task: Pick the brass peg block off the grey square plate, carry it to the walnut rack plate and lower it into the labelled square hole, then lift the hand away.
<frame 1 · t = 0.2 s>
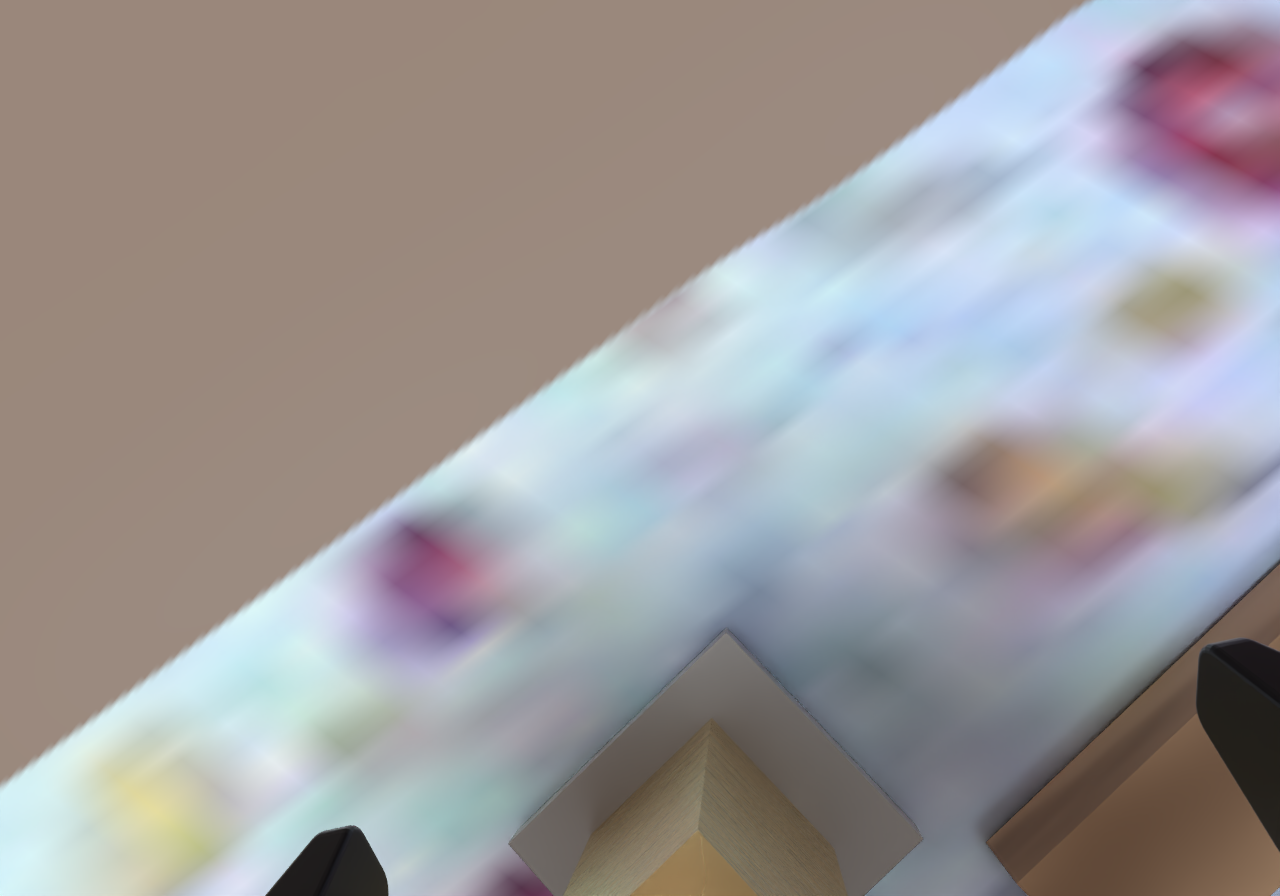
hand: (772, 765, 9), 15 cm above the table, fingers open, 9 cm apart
peg block: (710, 841, 22), point 1 cm above the table, touching grey square plate
grey square plate: (711, 827, 23), on the table
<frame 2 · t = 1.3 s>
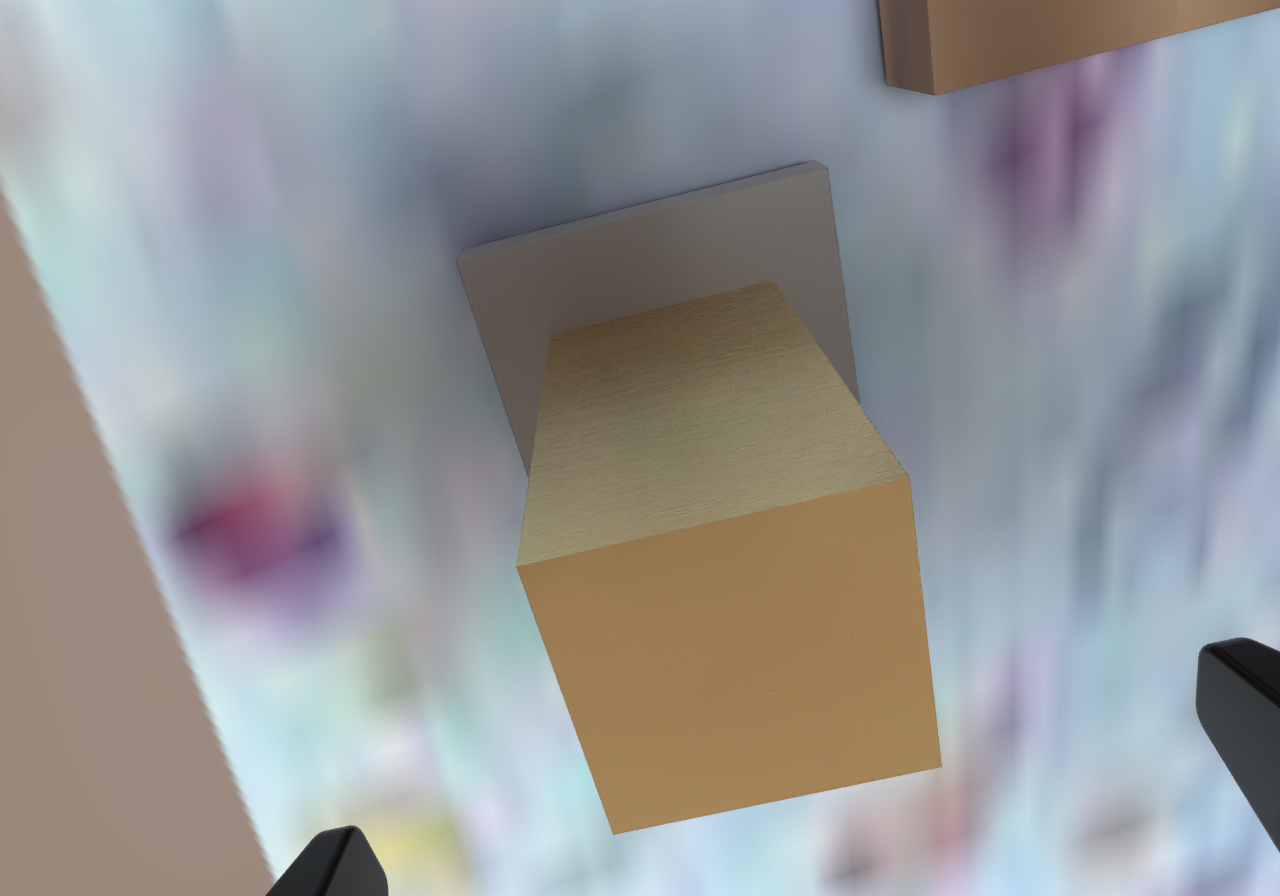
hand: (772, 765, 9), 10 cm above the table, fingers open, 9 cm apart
peg block: (684, 409, 18), point 1 cm above the table, touching grey square plate
grey square plate: (680, 391, 19), on the table
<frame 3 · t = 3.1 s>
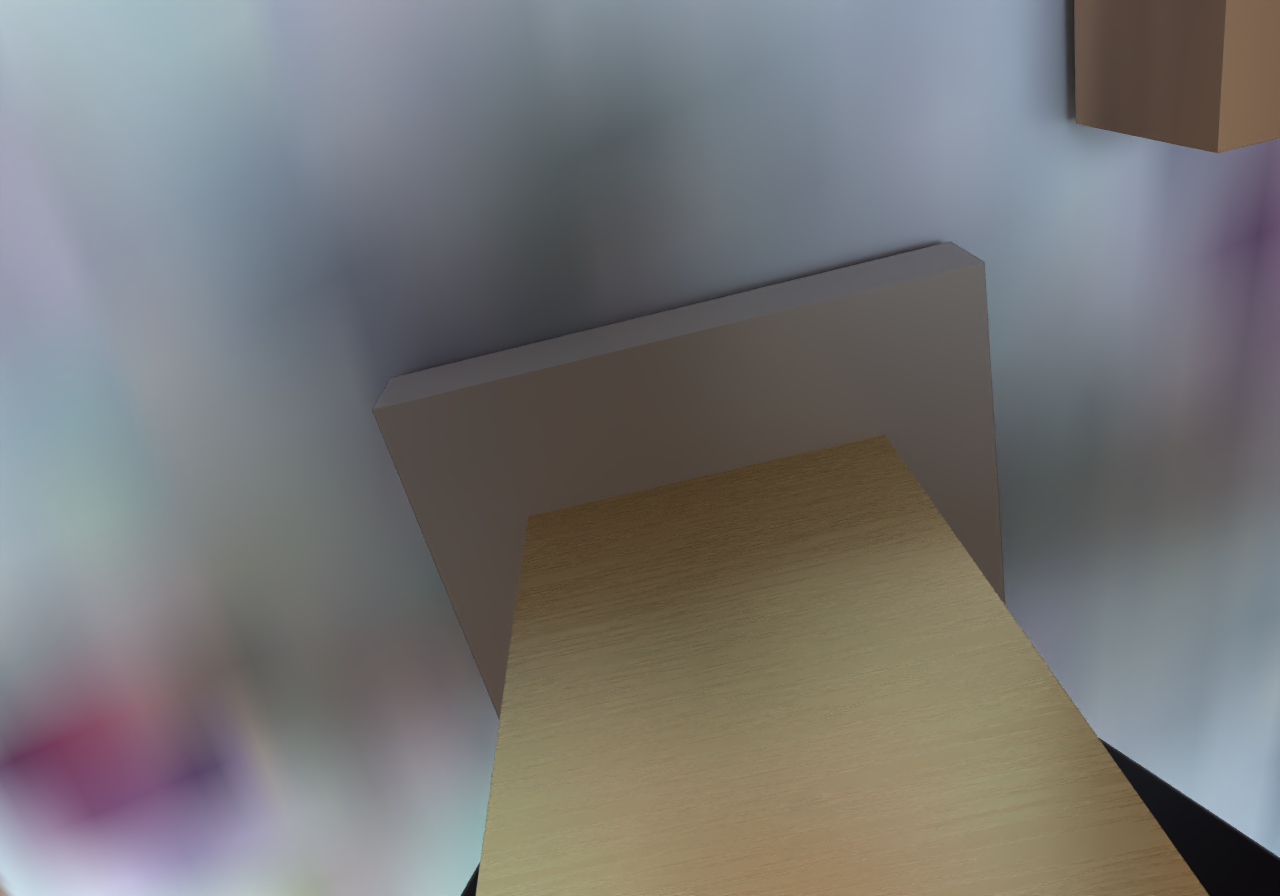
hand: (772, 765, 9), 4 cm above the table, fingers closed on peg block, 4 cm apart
peg block: (737, 619, 11), point 1 cm above the table, touching gripper, grey square plate
grey square plate: (726, 575, 12), on the table
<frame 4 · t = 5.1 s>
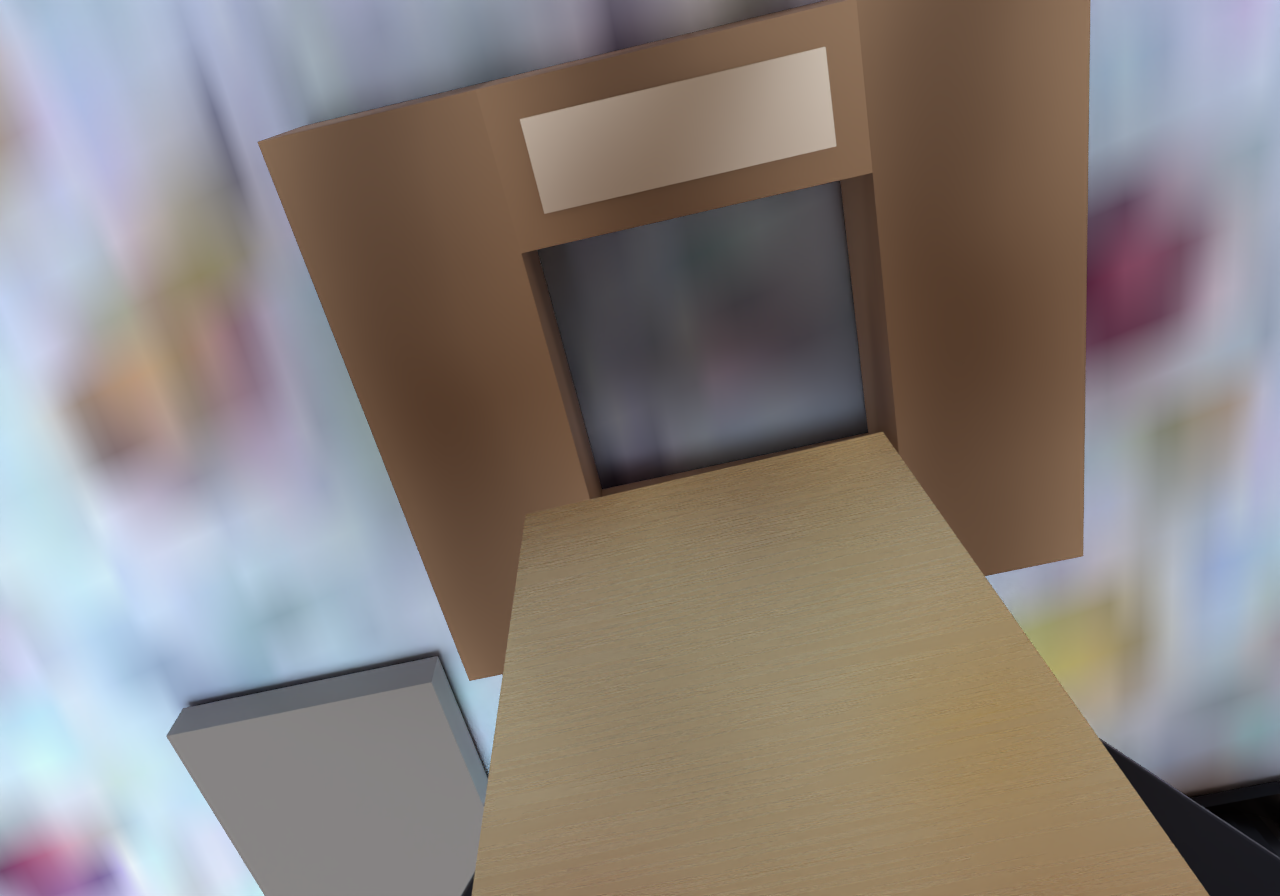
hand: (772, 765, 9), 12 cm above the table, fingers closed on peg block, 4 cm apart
peg block: (735, 617, 11), point 9 cm above the table, touching gripper
grey square plate: (362, 789, 25), on the table
rack plate: (710, 335, 19), on the table
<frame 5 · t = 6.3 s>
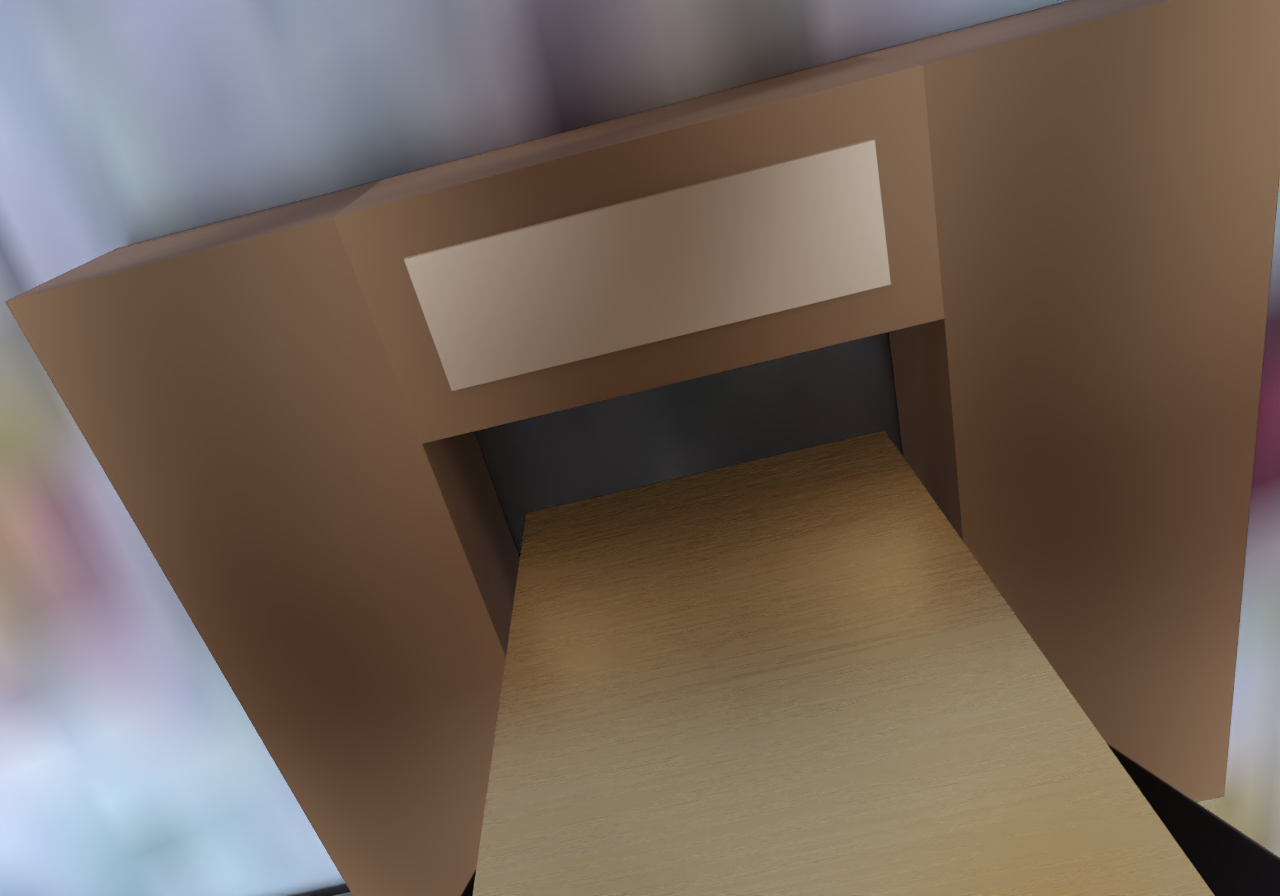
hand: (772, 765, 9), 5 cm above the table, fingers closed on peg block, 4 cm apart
peg block: (736, 616, 11), point 3 cm above the table, touching gripper
rack plate: (706, 503, 14), on the table
when the fingers open (4 cm above the table, at t = 7.3 s): peg block drops 2 cm, resting in rack plate.
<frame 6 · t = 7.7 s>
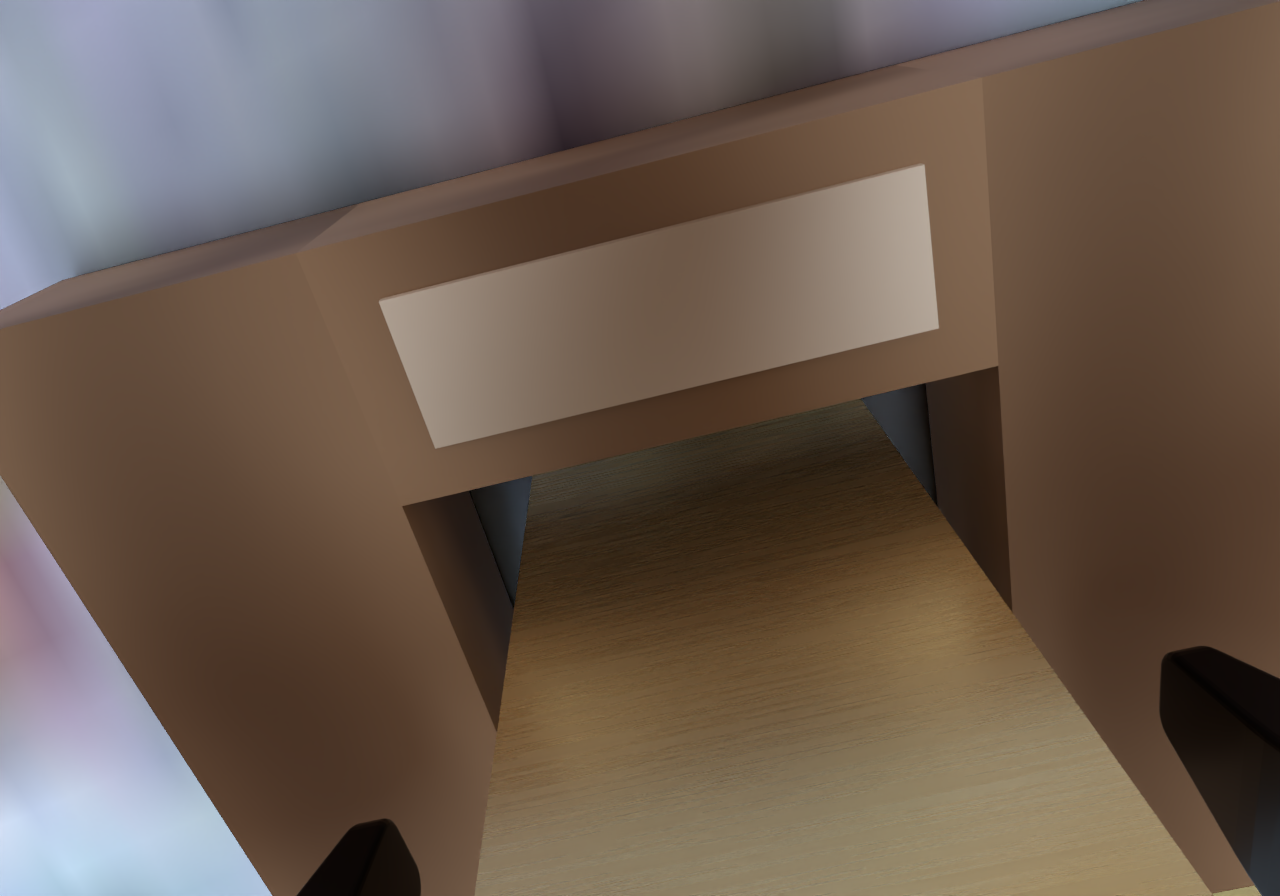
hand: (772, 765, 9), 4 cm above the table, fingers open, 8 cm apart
peg block: (722, 553, 13), resting in rack plate
rack plate: (721, 555, 13), on the table
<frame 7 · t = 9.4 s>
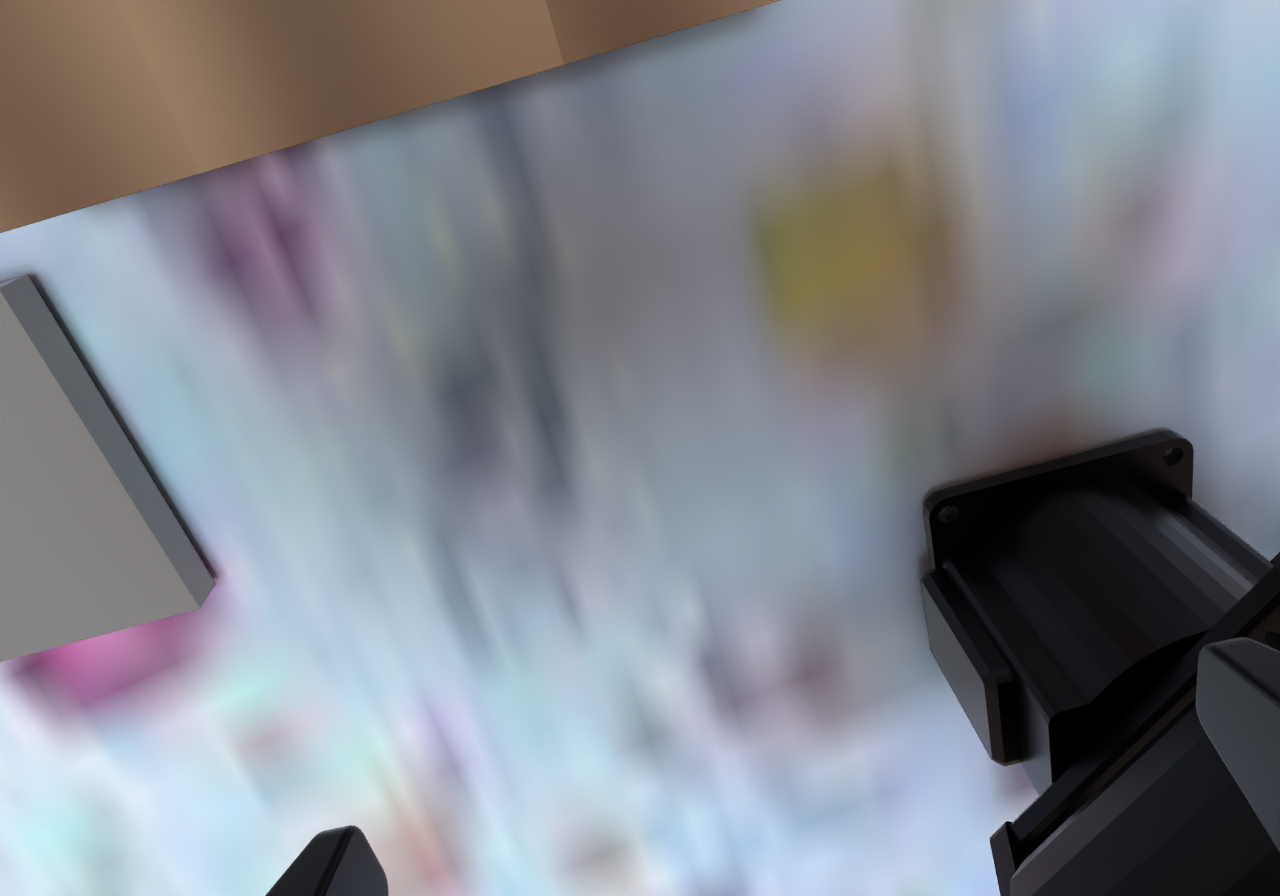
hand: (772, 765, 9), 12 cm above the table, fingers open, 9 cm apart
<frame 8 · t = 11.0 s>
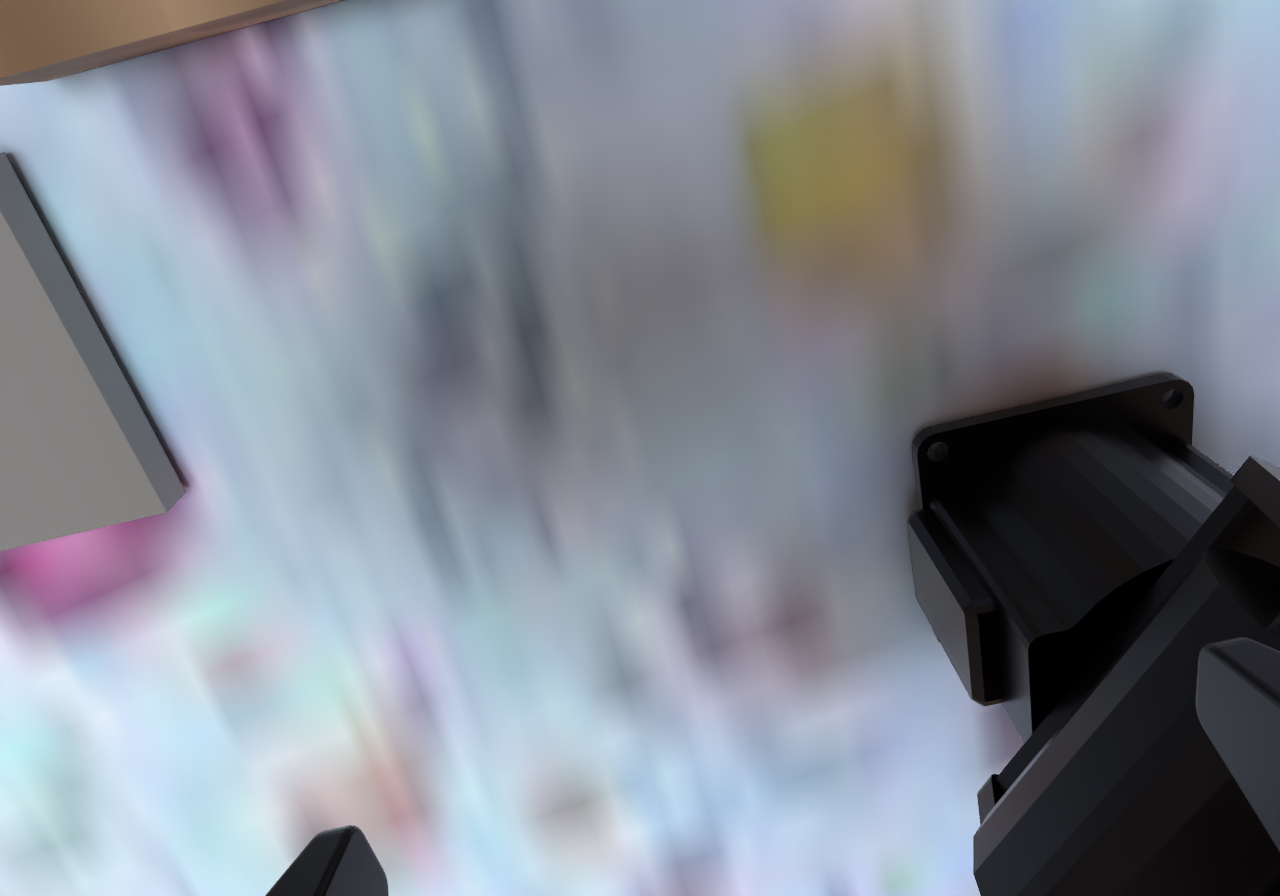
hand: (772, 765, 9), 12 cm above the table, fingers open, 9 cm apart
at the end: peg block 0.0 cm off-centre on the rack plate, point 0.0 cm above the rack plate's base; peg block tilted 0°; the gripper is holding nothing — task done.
